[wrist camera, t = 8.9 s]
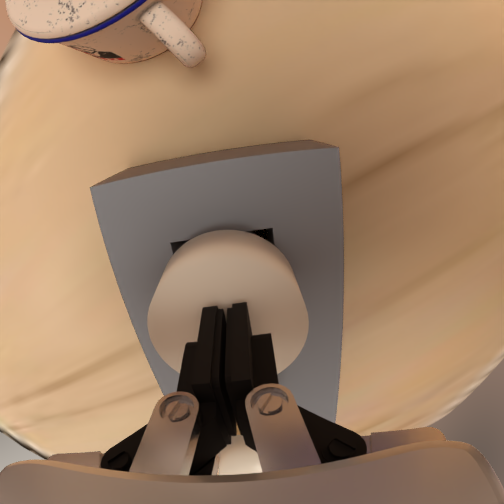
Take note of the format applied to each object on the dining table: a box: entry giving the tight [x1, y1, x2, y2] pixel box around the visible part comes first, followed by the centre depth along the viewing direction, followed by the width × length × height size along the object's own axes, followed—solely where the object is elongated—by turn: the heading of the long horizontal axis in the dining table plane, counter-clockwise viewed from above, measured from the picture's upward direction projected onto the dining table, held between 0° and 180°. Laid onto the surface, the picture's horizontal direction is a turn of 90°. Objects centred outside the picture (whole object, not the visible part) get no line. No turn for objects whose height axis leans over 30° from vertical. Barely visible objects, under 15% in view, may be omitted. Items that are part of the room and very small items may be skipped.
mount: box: [90, 140, 344, 469], centre depth 21 cm, size 12×26×6 cm, turn 7°
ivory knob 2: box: [219, 435, 262, 475], centre depth 22 cm, size 6×6×9 cm
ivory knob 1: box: [147, 230, 309, 374], centre depth 16 cm, size 6×6×9 cm
